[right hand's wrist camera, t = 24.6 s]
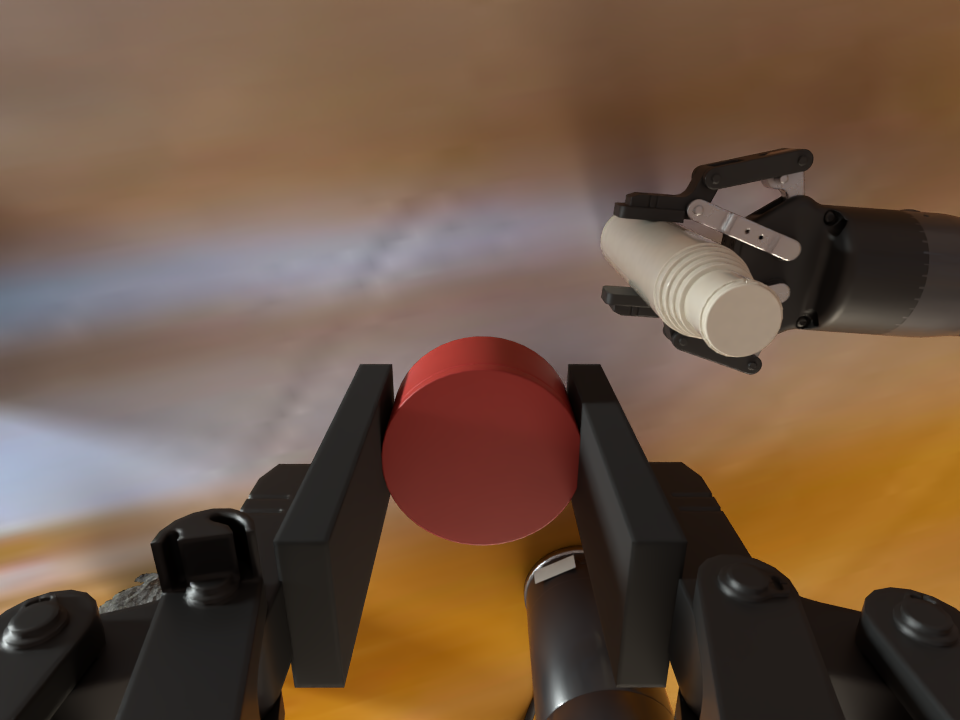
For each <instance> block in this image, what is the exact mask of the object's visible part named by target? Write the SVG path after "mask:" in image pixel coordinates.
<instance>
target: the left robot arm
mask: <svg viewBox="0 0 960 720" xmlns="http://www.w3.org/2000/svg"><path fill="white" fill-rule="evenodd" d="M812 163H813V154H812V153H811V152H810V151H809V150H807V149H790V148H782V149H777V150H772V151H768V152H763V153H758V154H753V155H749V156H744V157H739V158H734V159H729V160H725V161H720V162H715V163H710V164H706V165H701V166H698V167H697V168H695V169H694V171H693V173H692V180H691V182H690V184H689V185H688V187H687V189H686V190H685V191H684V192H682V193H681V194H678V195H668V194H654V193H641V192H634V193H631V194H627V195H626V199H625V203H620V202H616V203H615V207H614V215H615V216H617V217H619V218H625V219H637V220H651V221H668V222H678V223H683V220H684V219H691V220H694V221H696V222H698V223H701V224H703V225H705V226H707V227H710V228H712V229H714V230H717V231H719V232H721V233H724V234H723V238H722V243H721V245H723V246H725V247H727V248H729V249H731V250H732V251H734V252H735V253H736V254H737V255H738V256H739V257H740V258H741V259H742V260H743V261H744V262H745V263H746V265H747V267H748V268H749V271H750V273H751V275H752V277H753V279H754V280H756V281H759V282H762V283H763V284H765V285H767V286H769V287H770V288H771V289H772V290H774V291H775V292H776V294H777V295H778V297H779V298H780V301H781V304H782V307H783V319H782V323H781V327H780V329H779V331H778V333H777V334H779V333H781V332H784V331H786V330H790V329H803V330H816V331H831V332H845V333H860V334H874V335H888V336H903V337H935V336H960V217H956V216H951V215H946V214H939V213H926V212H920V211H916V210H910V209H907V210H900V211H899V210H886V209H872V208H858V207H845V206H832V205H821V204H819V203H817V202H815V201H814V200H813V199H812V198H810V197H808V196H805V182H804V171H806V170H807V169H809V168H810V167H811V165H812ZM760 180H761V181H762V184H763V185H764V186H765V187H768V188H773V189H779V190H780V192H781V194H782V196H781V197H779V198H778V199H776V200H774V201H773V202H771V203H769V204H767V205H766V206H764V207H762V208H760V209H759V210H757V211H755V212H754V213H752V214H750V215H748V216H747V217H745V218H744V217H741V216H739V215H737V214H734V213H732V212H729V211H727V210H725V209H722V208H720V207H718V206H716V205H713V204H711V201H712V199H713V197H714V196H715V194H716V192H717V190H718V189H721V188H726V187H731V186H736V185H741V184H745V183H750V182H755V181H760ZM601 298H602V299H603V301H604V302H605V303H606V304H609V306H610V307H611V308H612V310H613V311H614V312H616V313H618V314H620V315H625V316H640V317H654V318H660V317H659V316H658V315H657V314H656V313H655V312H654V311H653V310H652V309H651V308H650V307H649V306H648V305H647V304H646V302H645V301H644V300H643V299H642V298H641V297H640V296H639V295H638V294H637V293H636V292H635V291H634V290H633V289H632V287H619V286H603V289H602V296H601ZM663 333H664V335H665V336H666V337H667V338H668V339H670V341H671V342H672V344H673V345H674V346H675V347H676V348H677V349H679V350H681V351H684V352H687V353H690V354H693V355H695V356H698V357H701V358H704V359H707V360H710V361H712V362H715V363H718V364H721V365H724V366H727V367H729V368H732V369H735V370H738V371H741V372H744V373H746V374H755V373H757V372H758V371H759V370H760V369H761V366H762V362H761V360H760V359H759V358H758V356H759V354H760V352H761V351H759V352H757V353H755V354H752V355H749V356H744V357H729V356H724V355H722V354H719V353H717V352H715V351H714V350H713V349H711V348H710V347H709V346H708V345H707V344H706V342H705V341H704V340H703V339H700V338H695V337H689V336H686V335H683V334H681V333H678V332H677V331H675V330H673V329H672V328H670V327H669V326H668V325H666V324H665V323H664V327H663ZM524 598H525V605H526V609H527V619H528V633H529V645H530V657H531V669H532V681H533V693H534V697H533V699H532V701H531V704H530V706H529V709H528V711H527V714H526V717H525V720H533V718H534V715H535V716H536V720H674V714H673V711H672V708H671V705H670V702H669V699H668V696H667V693H666V690H665V688H638V687H616V684H615V680H614V676H613V672H612V668H611V663H610V659H609V655H608V651H607V647H606V643H605V638H604V634H603V630H602V626H601V622H600V618H599V613H598V609H597V605H596V601H595V597H594V592H593V588H592V584H591V580H590V576H589V572H588V567H587V563H586V559H585V555H584V551H583V547H582V546H572V547H566V548H562V549H559V550H556V551H554V552H552V553H550V554H548V555H546V556H545V557H543V558H542V559H541V560H539V561H538V562H537V563H536V564H535V565H534V567H533V568H532V569H531V571H530V572H529V574H528V576H527V578H526V582H525V586H524Z"/></svg>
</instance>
